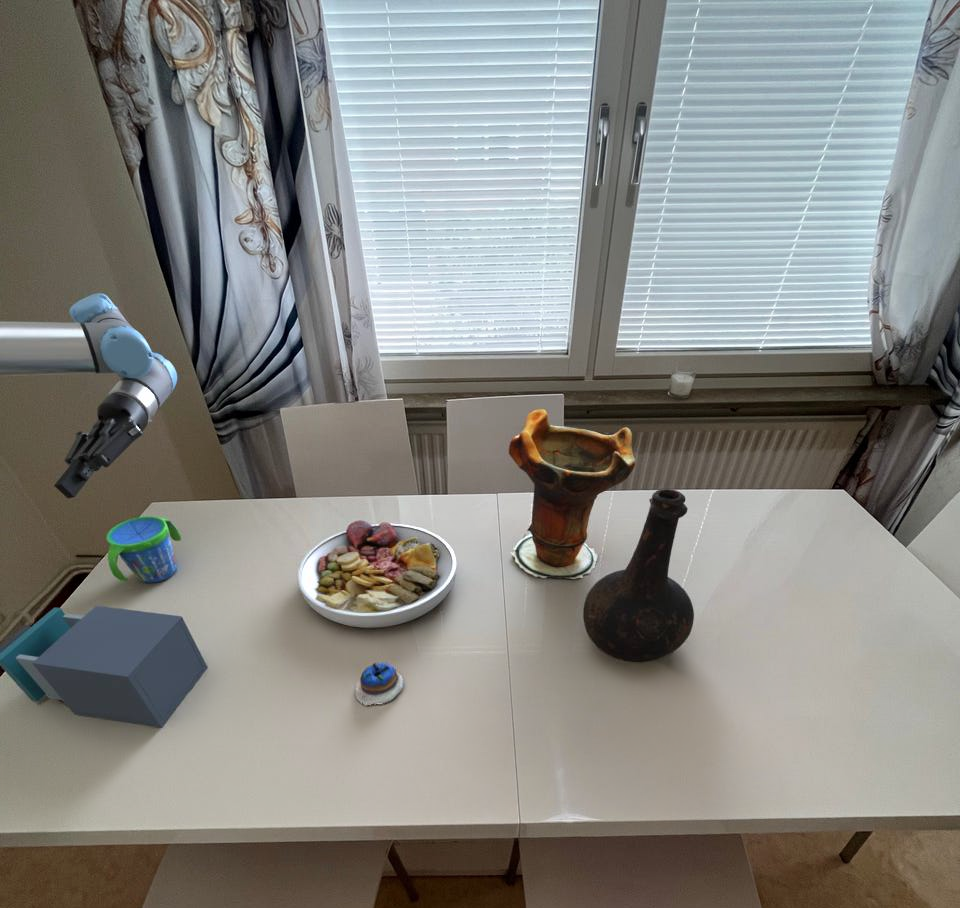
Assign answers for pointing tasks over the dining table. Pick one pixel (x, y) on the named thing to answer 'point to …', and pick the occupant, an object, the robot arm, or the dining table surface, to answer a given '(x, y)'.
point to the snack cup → (143, 548)
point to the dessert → (378, 684)
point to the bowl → (377, 574)
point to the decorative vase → (565, 491)
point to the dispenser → (124, 665)
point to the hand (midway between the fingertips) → (64, 491)
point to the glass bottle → (643, 593)
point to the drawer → (34, 652)
